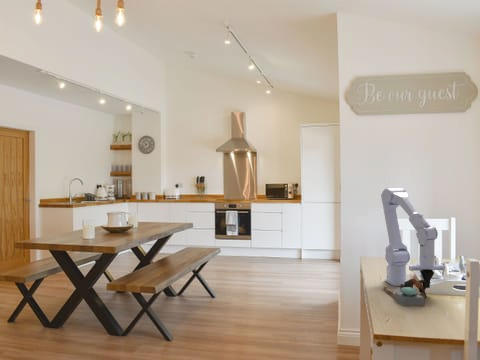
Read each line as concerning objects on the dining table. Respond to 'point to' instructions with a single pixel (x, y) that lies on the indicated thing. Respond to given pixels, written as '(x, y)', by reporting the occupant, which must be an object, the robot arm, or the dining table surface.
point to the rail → (389, 291)
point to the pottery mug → (417, 284)
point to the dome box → (409, 299)
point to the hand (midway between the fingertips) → (426, 287)
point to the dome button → (409, 291)
